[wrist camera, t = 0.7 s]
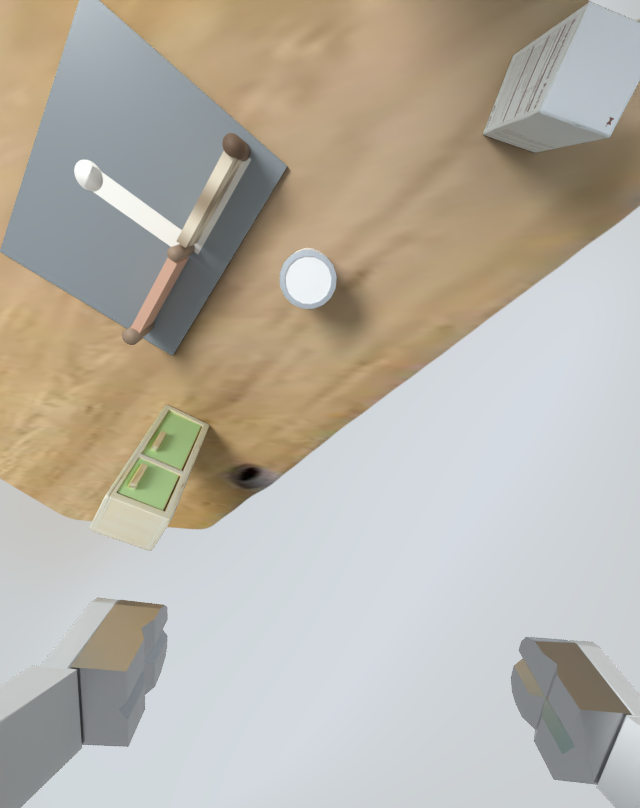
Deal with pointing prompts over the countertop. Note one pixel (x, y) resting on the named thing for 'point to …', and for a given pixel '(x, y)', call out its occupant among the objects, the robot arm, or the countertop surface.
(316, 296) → the white cup
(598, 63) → the supplement box
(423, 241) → the countertop surface
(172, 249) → the hinged fence panel
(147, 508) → the toy refrigerator
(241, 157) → the fixed fence panel
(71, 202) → the card
